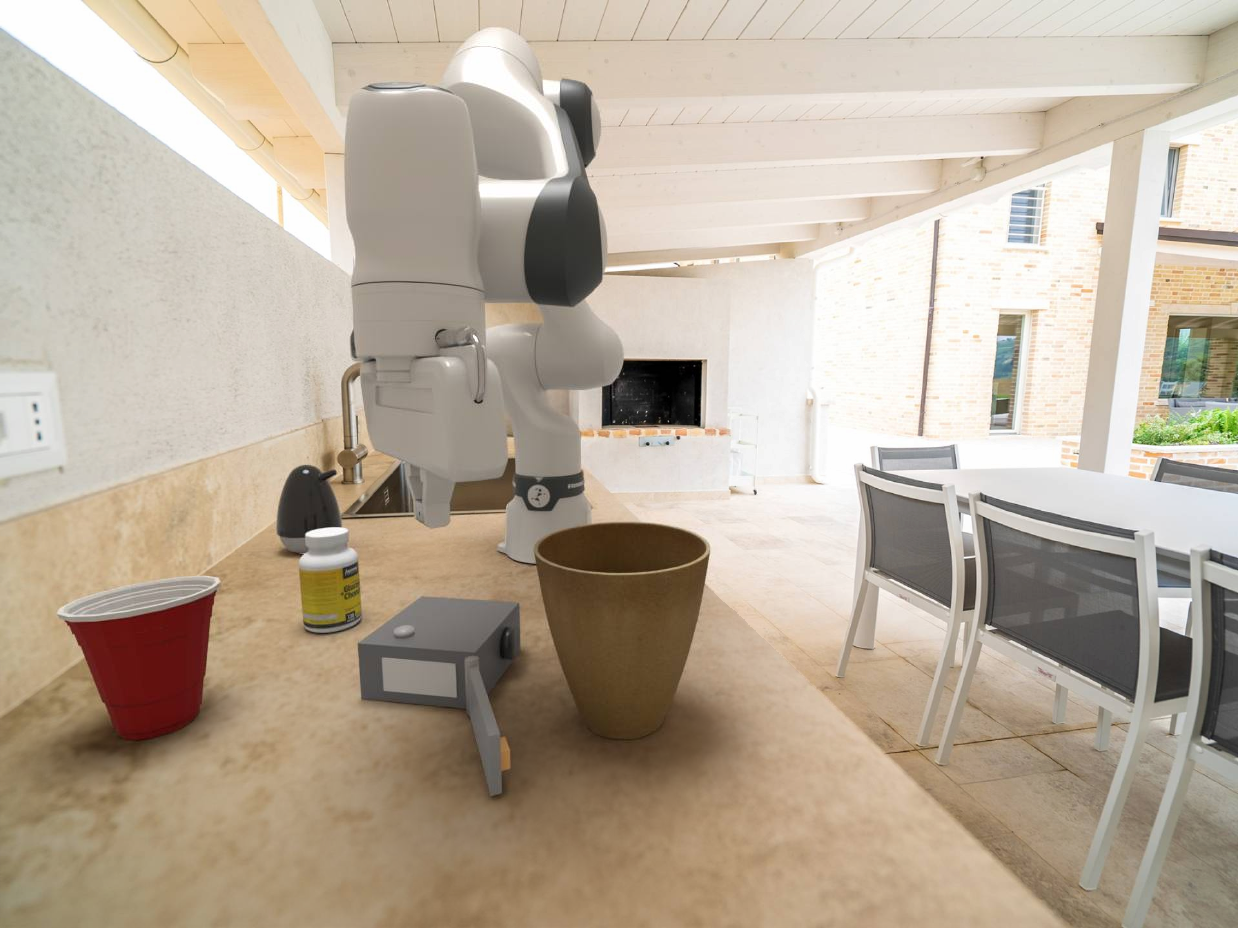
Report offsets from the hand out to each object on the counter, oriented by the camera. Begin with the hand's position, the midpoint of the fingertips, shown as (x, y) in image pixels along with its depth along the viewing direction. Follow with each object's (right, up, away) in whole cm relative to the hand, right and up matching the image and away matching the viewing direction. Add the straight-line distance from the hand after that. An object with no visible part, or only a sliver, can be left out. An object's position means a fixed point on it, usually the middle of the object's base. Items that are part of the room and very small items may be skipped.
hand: (432, 523), depth 43 cm
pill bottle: (-21, -15, +28) cm, 38 cm away
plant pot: (+14, -18, +8) cm, 25 cm away
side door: (+3, -18, +4) cm, 19 cm away
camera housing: (-4, -17, +16) cm, 24 cm away
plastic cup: (-27, -18, +8) cm, 33 cm away
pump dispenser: (-40, -11, +59) cm, 72 cm away
